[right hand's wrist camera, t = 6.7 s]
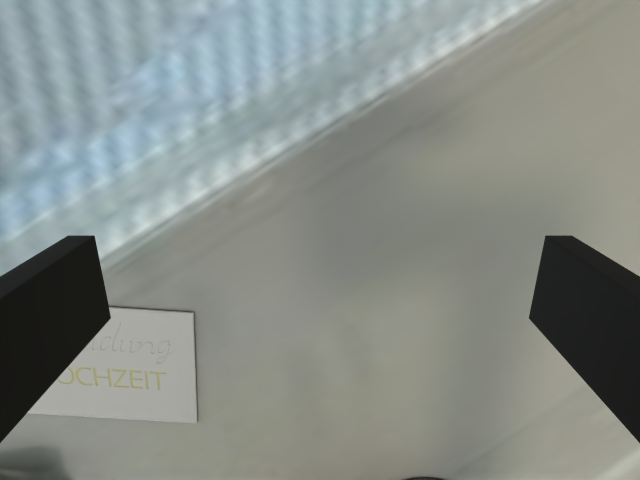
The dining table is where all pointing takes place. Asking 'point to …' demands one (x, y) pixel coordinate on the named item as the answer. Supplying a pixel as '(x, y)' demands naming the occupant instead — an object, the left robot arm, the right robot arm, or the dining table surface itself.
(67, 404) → the invitation card
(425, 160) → the dining table surface
